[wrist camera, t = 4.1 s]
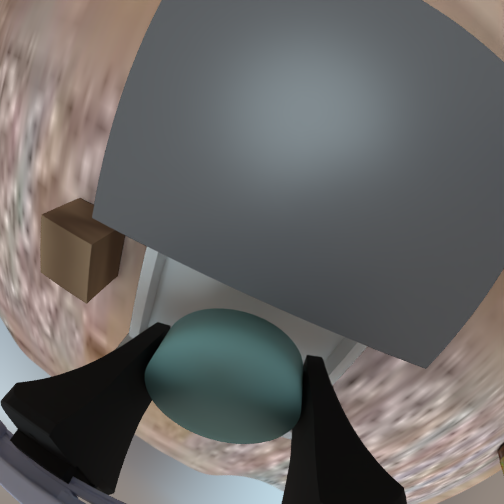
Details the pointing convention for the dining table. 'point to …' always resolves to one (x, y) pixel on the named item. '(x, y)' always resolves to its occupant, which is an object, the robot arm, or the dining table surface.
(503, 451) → the sauce bottle
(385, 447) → the dining table surface
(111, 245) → the walnut block
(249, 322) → the teal round puck
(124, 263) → the dining table surface
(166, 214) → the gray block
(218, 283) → the tray
